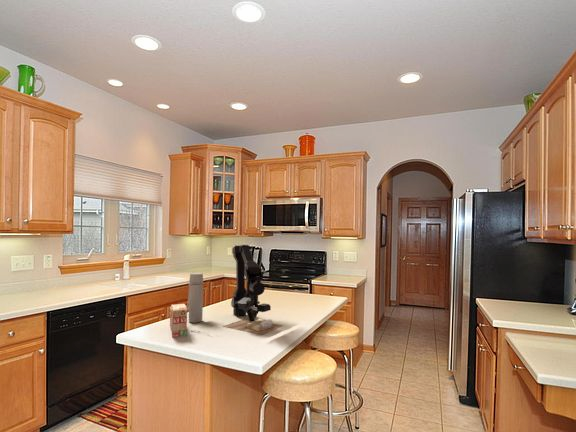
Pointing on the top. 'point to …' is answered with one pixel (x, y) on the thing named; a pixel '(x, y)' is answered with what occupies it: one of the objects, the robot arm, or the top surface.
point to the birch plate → (255, 324)
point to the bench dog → (266, 325)
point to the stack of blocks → (178, 320)
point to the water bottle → (195, 297)
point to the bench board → (242, 326)
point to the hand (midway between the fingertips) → (251, 323)
